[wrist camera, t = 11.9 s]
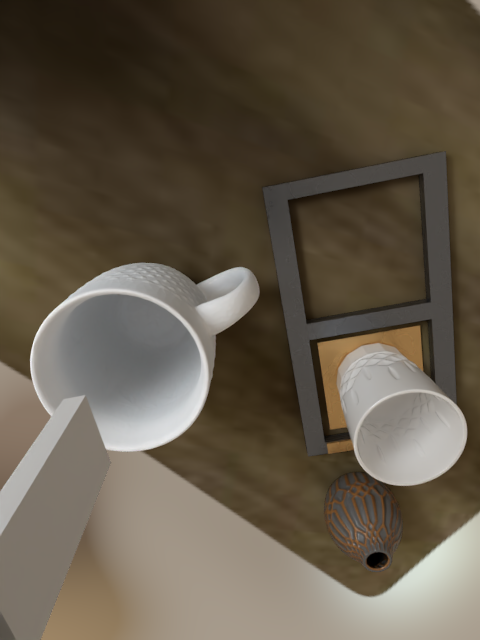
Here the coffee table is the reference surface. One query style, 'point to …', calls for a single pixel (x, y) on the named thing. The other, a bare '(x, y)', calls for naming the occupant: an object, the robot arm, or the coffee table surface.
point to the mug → (138, 349)
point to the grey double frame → (403, 339)
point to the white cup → (398, 417)
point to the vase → (364, 519)
